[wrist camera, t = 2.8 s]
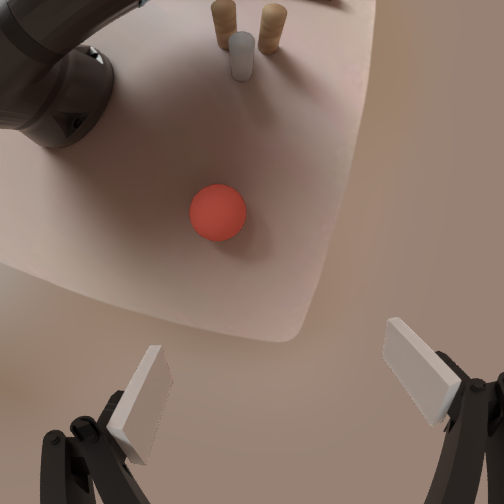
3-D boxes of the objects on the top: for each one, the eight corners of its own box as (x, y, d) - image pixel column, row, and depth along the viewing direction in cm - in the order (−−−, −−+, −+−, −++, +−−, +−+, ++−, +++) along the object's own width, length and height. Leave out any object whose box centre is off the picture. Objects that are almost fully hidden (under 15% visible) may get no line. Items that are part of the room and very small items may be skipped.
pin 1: (216, 48, 26) (208, 13, 18) (219, 34, 26) (213, -2, 17) (235, 50, 26) (233, 15, 18) (238, 35, 26) (237, -1, 18)
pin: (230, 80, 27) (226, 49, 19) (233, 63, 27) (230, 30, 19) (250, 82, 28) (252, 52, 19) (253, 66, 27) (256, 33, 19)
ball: (192, 231, 32) (181, 242, 26) (198, 180, 30) (187, 181, 25) (242, 238, 32) (241, 250, 27) (249, 187, 31) (250, 189, 25)
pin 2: (256, 52, 26) (260, 17, 18) (259, 38, 26) (264, 2, 18) (276, 55, 27) (285, 21, 18) (278, 41, 26) (288, 5, 18)
